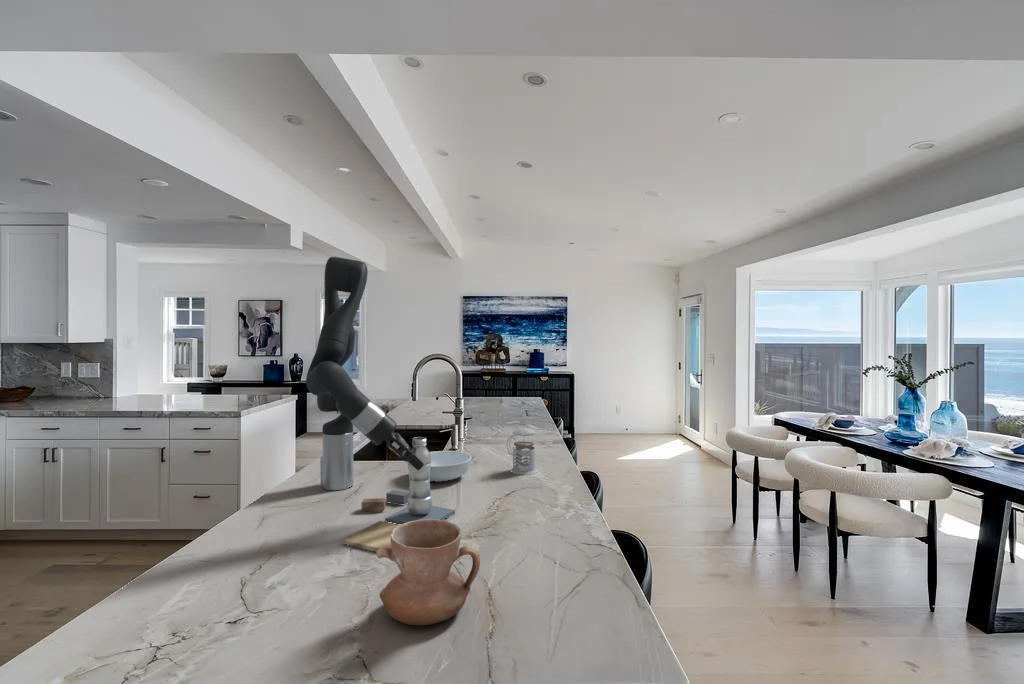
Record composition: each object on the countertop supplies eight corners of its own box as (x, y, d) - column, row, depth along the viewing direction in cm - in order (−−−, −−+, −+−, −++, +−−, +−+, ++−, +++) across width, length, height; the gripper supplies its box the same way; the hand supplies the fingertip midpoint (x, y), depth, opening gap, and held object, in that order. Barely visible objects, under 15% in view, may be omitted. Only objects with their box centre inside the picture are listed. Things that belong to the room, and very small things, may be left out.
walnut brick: (361, 513, 137) (361, 502, 137) (364, 509, 140) (363, 498, 140) (384, 512, 138) (383, 501, 138) (385, 508, 141) (385, 498, 141)
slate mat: (385, 522, 130) (385, 518, 130) (415, 506, 142) (415, 502, 142) (426, 530, 125) (426, 526, 125) (454, 513, 136) (454, 509, 136)
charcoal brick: (386, 503, 145) (386, 493, 145) (392, 500, 148) (392, 490, 148) (404, 506, 143) (403, 495, 143) (410, 503, 145) (410, 492, 145)
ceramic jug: (367, 638, 81) (369, 550, 80) (382, 591, 95) (383, 516, 95) (480, 634, 82) (482, 548, 82) (478, 588, 97) (479, 515, 96)
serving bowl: (419, 468, 182) (419, 449, 182) (477, 470, 179) (477, 451, 179) (399, 486, 161) (399, 464, 161) (463, 488, 158) (463, 466, 158)
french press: (528, 476, 172) (528, 403, 171) (500, 471, 178) (500, 400, 177) (542, 469, 180) (542, 399, 179) (515, 465, 186) (515, 397, 186)
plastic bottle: (436, 511, 135) (436, 436, 135) (424, 519, 129) (423, 442, 129) (416, 508, 138) (415, 435, 137) (402, 516, 131) (401, 440, 131)
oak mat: (342, 543, 117) (342, 539, 117) (379, 524, 128) (379, 520, 128) (386, 554, 111) (386, 550, 111) (421, 533, 123) (421, 529, 123)
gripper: (386, 416, 123) (433, 458, 127) (381, 407, 136) (424, 446, 141) (364, 439, 121) (412, 481, 125) (361, 428, 135) (405, 467, 139)
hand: (418, 463), depth 133 cm, fingers open, 8 cm apart
